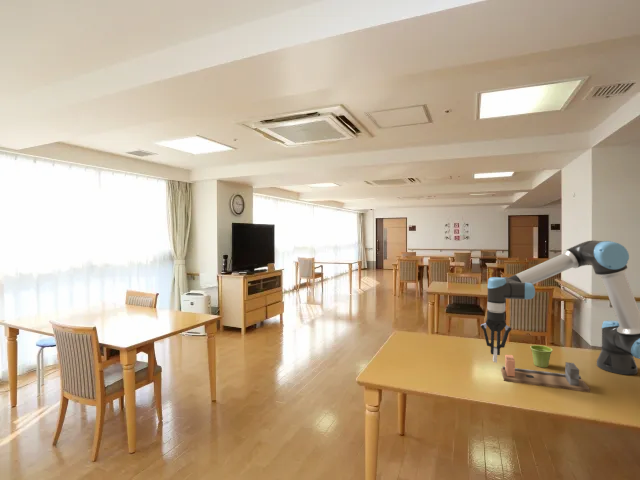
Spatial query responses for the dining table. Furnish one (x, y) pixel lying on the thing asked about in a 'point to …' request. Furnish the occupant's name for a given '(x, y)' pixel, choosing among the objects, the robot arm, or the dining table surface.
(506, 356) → the sliding point
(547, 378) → the board
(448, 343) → the dining table surface
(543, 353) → the plant pot
